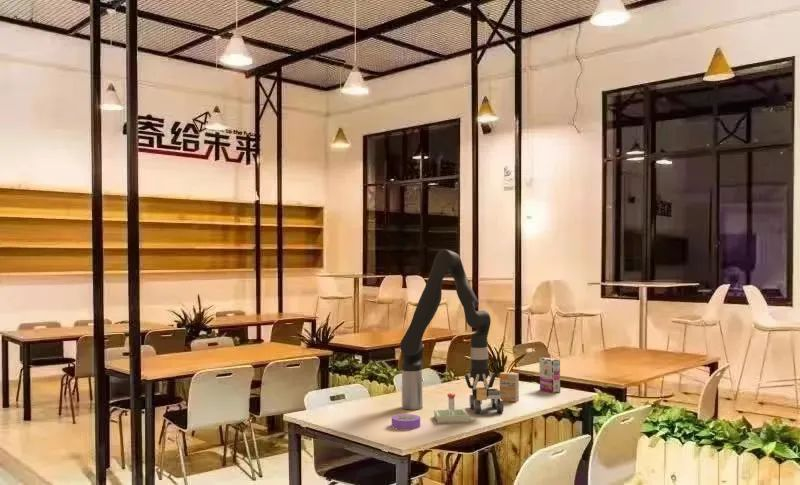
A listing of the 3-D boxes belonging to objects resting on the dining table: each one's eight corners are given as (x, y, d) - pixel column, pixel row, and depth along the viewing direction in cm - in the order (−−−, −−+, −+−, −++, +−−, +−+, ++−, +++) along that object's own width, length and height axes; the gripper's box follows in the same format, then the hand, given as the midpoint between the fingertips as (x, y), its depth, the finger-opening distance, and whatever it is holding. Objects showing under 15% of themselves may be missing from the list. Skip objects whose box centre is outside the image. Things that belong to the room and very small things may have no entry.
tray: (438, 423, 278) (438, 416, 278) (434, 416, 290) (434, 409, 290) (469, 422, 279) (469, 415, 279) (464, 415, 291) (464, 408, 291)
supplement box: (499, 401, 320) (498, 373, 321) (502, 399, 325) (502, 371, 325) (516, 402, 316) (515, 374, 317) (519, 400, 321) (518, 372, 321)
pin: (448, 418, 283) (448, 395, 283) (447, 416, 286) (446, 393, 287) (456, 418, 283) (455, 395, 284) (454, 416, 287) (454, 393, 287)
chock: (474, 397, 292) (474, 387, 293) (483, 397, 293) (483, 386, 293) (477, 400, 286) (477, 389, 287) (486, 400, 287) (486, 389, 287)
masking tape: (426, 426, 275) (426, 416, 276) (406, 431, 267) (406, 422, 267) (405, 421, 283) (405, 412, 284) (385, 427, 275) (385, 417, 275)
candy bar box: (561, 392, 339) (560, 359, 339) (553, 393, 336) (552, 360, 337) (547, 388, 349) (546, 356, 349) (539, 389, 347) (538, 357, 347)
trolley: (476, 414, 293) (476, 392, 293) (469, 406, 309) (469, 385, 309) (503, 413, 294) (503, 392, 294) (495, 406, 310) (495, 385, 310)
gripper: (493, 355, 295) (494, 395, 294) (461, 357, 293) (462, 396, 293) (497, 358, 287) (498, 398, 287) (464, 359, 286) (465, 400, 285)
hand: (480, 397), depth 290 cm, fingers closed on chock, 4 cm apart
